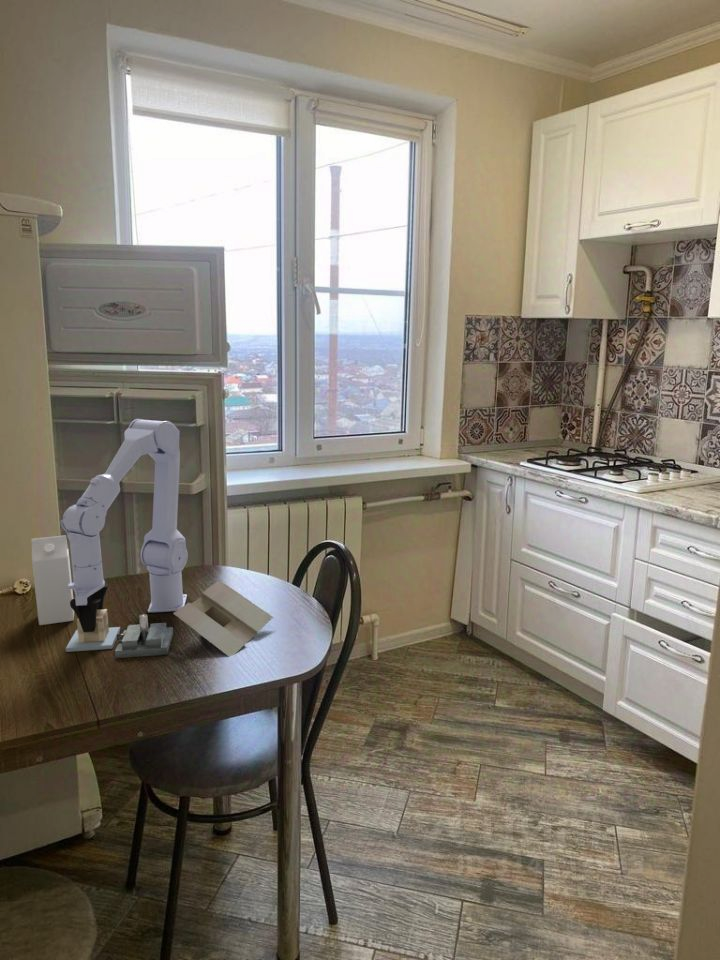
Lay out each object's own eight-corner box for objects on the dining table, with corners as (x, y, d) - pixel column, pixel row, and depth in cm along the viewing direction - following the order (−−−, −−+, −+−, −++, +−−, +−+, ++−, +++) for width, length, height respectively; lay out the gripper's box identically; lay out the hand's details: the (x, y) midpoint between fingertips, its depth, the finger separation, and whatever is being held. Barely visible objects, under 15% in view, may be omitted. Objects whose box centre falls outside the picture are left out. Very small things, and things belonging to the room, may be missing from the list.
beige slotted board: (257, 636, 158) (211, 590, 159) (275, 616, 153) (227, 568, 154) (212, 679, 144) (162, 627, 146) (230, 658, 139) (178, 604, 141)
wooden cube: (84, 633, 149) (82, 610, 148) (108, 631, 149) (106, 609, 149) (78, 642, 144) (76, 619, 143) (104, 640, 145) (102, 617, 144)
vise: (122, 636, 149) (120, 608, 147) (173, 633, 150) (171, 605, 149) (113, 658, 139) (110, 627, 138) (167, 654, 140) (165, 624, 139)
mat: (76, 633, 151) (76, 629, 150) (120, 630, 152) (120, 626, 152) (66, 651, 142) (65, 648, 142) (112, 648, 143) (111, 645, 143)
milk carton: (41, 614, 161) (32, 534, 157) (74, 609, 163) (66, 531, 159) (39, 626, 154) (29, 543, 150) (73, 621, 157) (65, 539, 153)
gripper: (75, 553, 150) (80, 612, 153) (56, 576, 136) (63, 641, 139) (109, 551, 151) (114, 610, 154) (94, 574, 137) (100, 638, 139)
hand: (92, 625), depth 146 cm, fingers open, 6 cm apart
